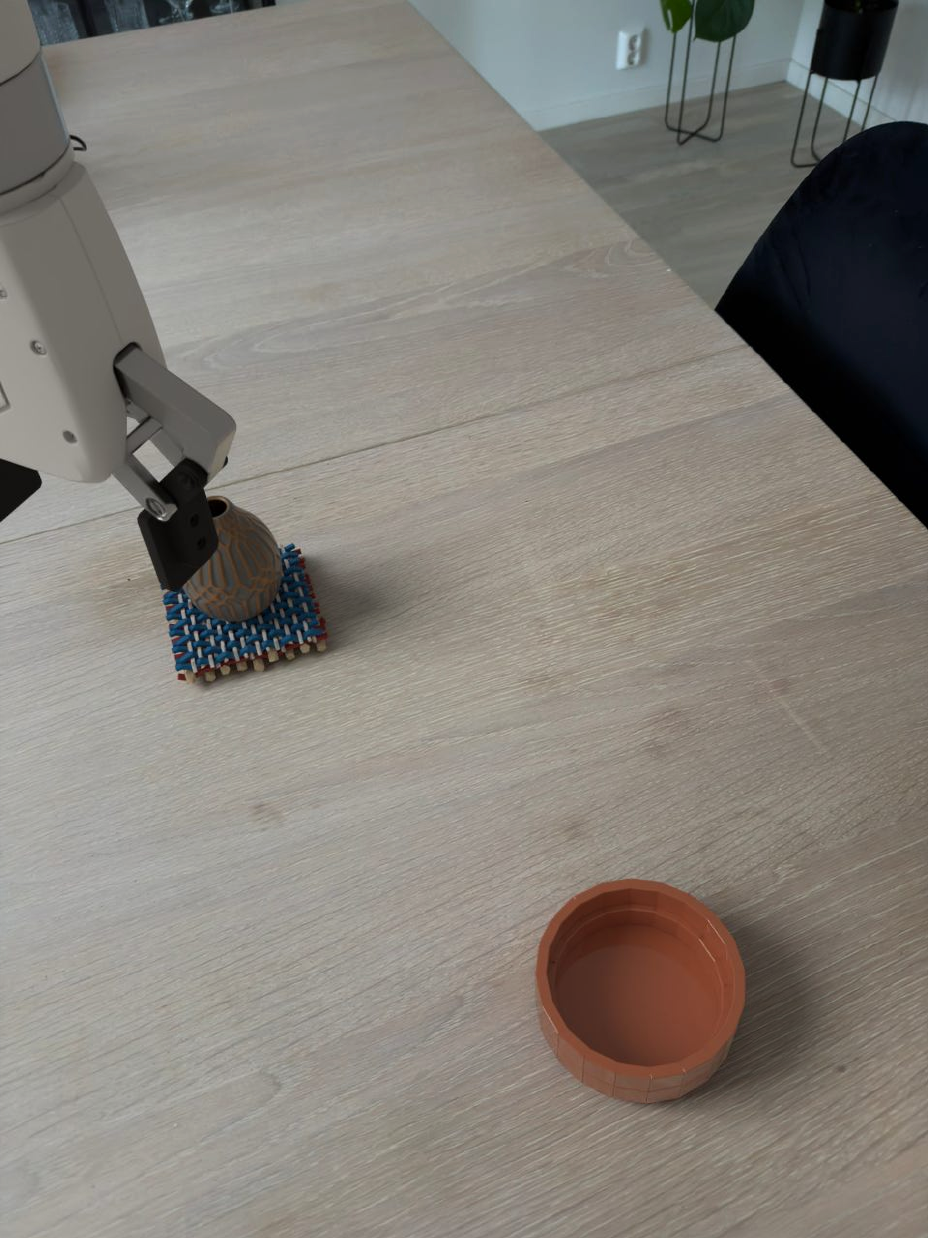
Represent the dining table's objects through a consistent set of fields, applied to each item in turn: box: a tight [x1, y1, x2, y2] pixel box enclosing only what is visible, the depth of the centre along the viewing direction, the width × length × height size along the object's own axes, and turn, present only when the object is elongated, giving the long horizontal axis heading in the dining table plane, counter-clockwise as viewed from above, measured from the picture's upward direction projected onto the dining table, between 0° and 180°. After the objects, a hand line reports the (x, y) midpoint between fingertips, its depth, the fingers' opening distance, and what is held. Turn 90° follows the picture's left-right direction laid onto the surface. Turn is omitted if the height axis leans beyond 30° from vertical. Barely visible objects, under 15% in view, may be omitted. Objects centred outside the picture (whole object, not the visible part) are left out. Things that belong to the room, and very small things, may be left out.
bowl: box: [534, 878, 747, 1104], centre depth 56 cm, size 10×10×4 cm
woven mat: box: [159, 542, 329, 685], centre depth 77 cm, size 10×11×2 cm
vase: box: [183, 495, 282, 622], centre depth 73 cm, size 7×7×9 cm
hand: (100, 535), depth 46 cm, fingers open, 9 cm apart
